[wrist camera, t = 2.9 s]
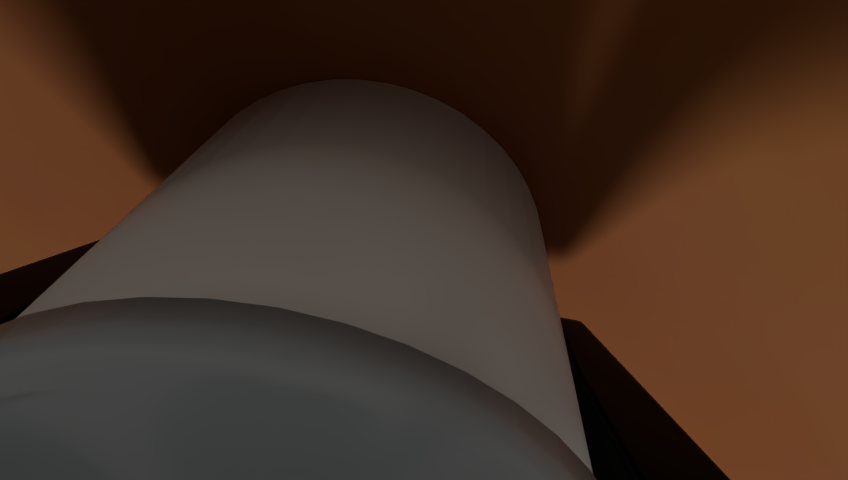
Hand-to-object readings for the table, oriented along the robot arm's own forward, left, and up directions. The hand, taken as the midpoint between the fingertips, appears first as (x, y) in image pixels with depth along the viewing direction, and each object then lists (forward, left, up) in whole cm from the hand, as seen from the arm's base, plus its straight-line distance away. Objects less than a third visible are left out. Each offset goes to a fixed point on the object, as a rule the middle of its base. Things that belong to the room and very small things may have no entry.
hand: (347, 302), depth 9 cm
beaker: (0, 0, -1) cm, 1 cm away
